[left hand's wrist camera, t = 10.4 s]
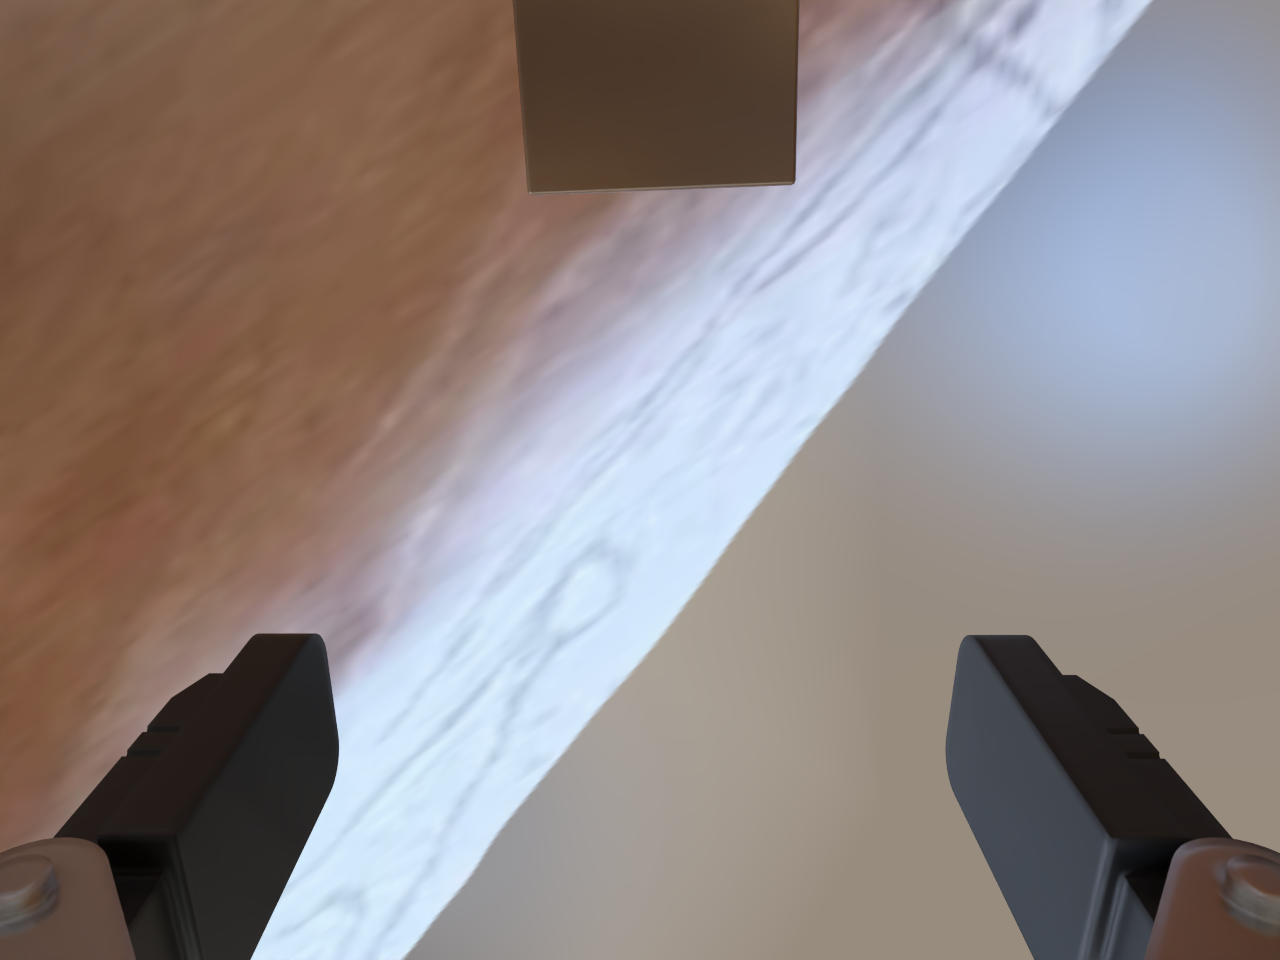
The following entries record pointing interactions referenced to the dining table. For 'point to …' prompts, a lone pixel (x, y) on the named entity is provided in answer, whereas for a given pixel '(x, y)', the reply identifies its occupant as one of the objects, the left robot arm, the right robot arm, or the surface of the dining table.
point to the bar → (657, 94)
